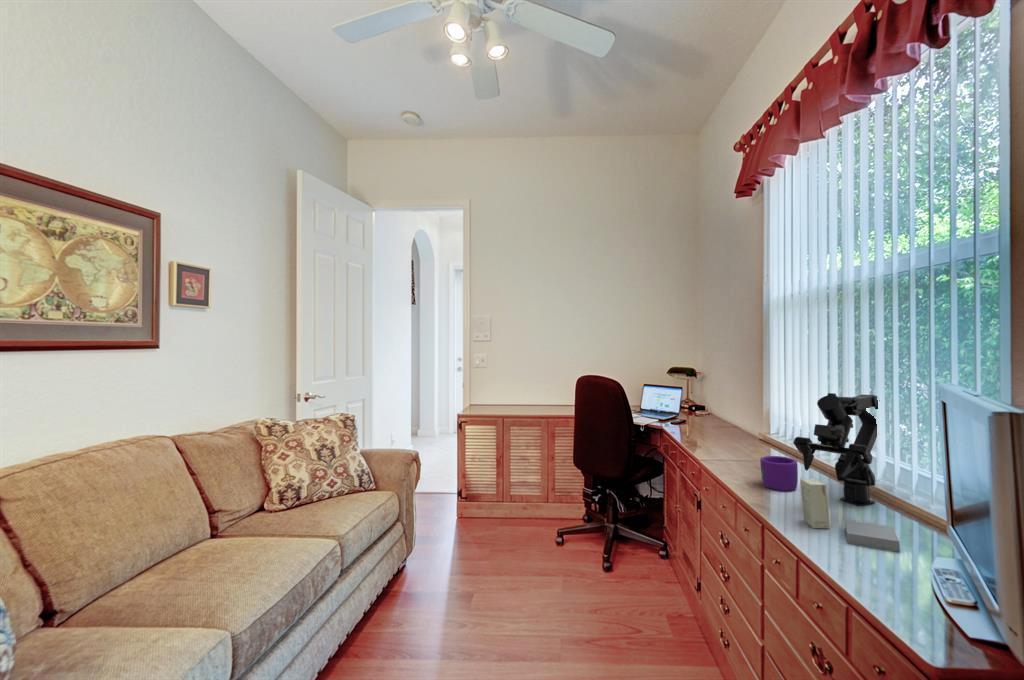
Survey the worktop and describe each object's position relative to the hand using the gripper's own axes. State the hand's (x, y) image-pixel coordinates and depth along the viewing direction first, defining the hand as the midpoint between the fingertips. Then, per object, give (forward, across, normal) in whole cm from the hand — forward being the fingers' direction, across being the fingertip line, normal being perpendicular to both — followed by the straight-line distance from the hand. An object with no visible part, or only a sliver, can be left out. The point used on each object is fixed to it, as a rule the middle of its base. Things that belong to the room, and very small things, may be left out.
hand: (823, 473), depth 126 cm
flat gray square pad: (+14, +13, +5) cm, 20 cm away
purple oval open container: (-6, -24, +25) cm, 35 cm away
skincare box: (+14, 0, +5) cm, 15 cm away
